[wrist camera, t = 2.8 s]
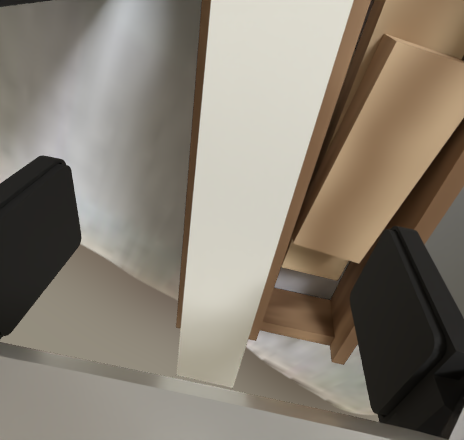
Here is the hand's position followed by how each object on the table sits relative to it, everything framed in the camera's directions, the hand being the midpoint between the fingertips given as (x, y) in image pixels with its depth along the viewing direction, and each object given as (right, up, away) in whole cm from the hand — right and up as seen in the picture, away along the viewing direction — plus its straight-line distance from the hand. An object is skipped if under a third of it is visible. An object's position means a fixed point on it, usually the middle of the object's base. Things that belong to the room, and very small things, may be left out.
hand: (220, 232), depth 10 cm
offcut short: (+8, +4, +10) cm, 13 cm away
